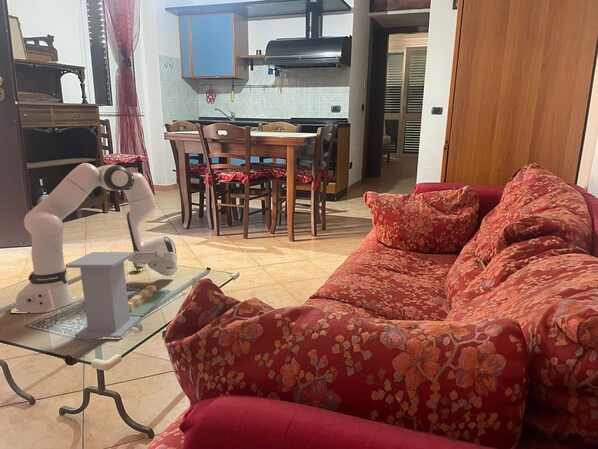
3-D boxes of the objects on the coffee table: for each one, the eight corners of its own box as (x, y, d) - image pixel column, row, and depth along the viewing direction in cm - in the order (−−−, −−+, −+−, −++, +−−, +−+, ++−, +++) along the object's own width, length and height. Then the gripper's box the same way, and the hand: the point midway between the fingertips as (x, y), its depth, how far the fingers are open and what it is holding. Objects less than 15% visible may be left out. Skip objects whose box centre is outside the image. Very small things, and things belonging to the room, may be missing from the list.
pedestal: (100, 319, 166) (92, 252, 161) (141, 320, 164) (134, 252, 159) (75, 339, 150) (65, 264, 145) (120, 339, 149) (112, 264, 144)
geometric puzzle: (126, 267, 226) (131, 256, 222) (136, 263, 231) (142, 253, 228) (134, 277, 224) (140, 266, 220) (145, 273, 230) (151, 262, 226)
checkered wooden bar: (149, 291, 193) (149, 285, 193) (156, 291, 193) (155, 285, 192) (124, 311, 172) (124, 303, 171) (132, 311, 171) (131, 304, 171)
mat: (139, 291, 196) (139, 290, 196) (170, 291, 195) (170, 290, 194) (107, 316, 169) (106, 315, 168) (142, 317, 167) (142, 315, 167)
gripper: (136, 254, 201) (122, 245, 188) (180, 254, 199) (169, 245, 186) (134, 267, 199) (120, 260, 186) (179, 268, 197) (167, 260, 184)
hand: (145, 253), depth 186 cm, fingers open, 8 cm apart
